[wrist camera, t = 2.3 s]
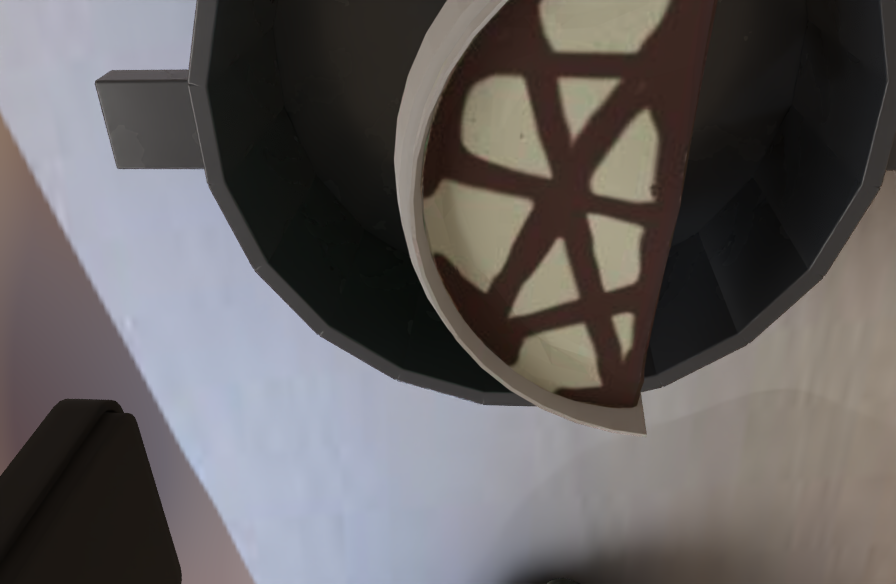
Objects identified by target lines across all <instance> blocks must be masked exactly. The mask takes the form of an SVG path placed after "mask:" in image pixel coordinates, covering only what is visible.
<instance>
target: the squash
mask: <svg viewBox="0 0 896 584" xmlns="http://www.w3.org/2000/svg"><path fill="white" fill-rule="evenodd" d="M546 584H579V583H576V582H574V581H572V580H570V579H565V578H559V579H554V580H552V581H550V582H548V583H546Z"/></svg>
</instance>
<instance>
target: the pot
mask: <svg viewBox="0 0 896 584" xmlns="http://www.w3.org/2000/svg"><path fill="white" fill-rule="evenodd" d="M446 1H447V0H197V2H196V11H195V19H194V28H193V36H192V45H191V54H190V62H189V70H112V71H110V72H108V73H107V74H105V75H104V76H102V77H101V78H99V79H97V80H96V81H95V86H96V90H97V93H98V97H99V101H100V105H101V109H102V112H103V116H104V120H105V124H106V128H107V132H108V135H109V139H110V143H111V147H112V151H113V154H114V158H115V162H116V166H117V168H118V169H205V174H206V179H207V183H208V184H209V185H208V186H209V188H210V190H211V192H212V194H213V196H214V198H215V199H216V201H217V203H218V205H219V207H220V209H221V210H222V212H223V214H224V216H225V218H226V220H227V221H228V223H229V225H230V227H231V229H232V231H233V232H234V234H235V236H236V238H237V240H238V242H239V244H240V245H241V247H242V249H243V251H244V253H245V255H246V256H247V258H248V260H249V262H250V264H251V266H252V267H253V269H254V270H255V272H256V273H257V274H258V275H259V276H260V277H261V278H262V279H263V280H264V281H265V282H266V283H267V284H268V285H269V286H270V287H271V288H272V289H273V290H274V291H275V292H276V293H277V294H278V295H279V296H280V297H281V298H282V299H283V300H284V301H285V302H286V303H287V304H288V305H289V306H290V307H291V308H292V309H293V310H294V311H295V312H296V313H297V314H298V315H299V316H300V317H301V318H302V319H303V320H304V321H305V322H306V323H307V324H308V326H309V327H310V328H311V329H312V330H313V331H314V332H315V333H316V334H317V335H319V336H320V337H322V338H324V339H326V340H327V341H329V342H331V343H332V344H334V345H336V346H338V347H339V348H341V349H343V350H344V351H346V352H348V353H350V354H351V355H353V356H355V357H356V358H358V359H360V360H362V361H363V362H365V363H367V364H368V365H370V366H372V367H374V368H375V369H377V370H379V371H381V372H382V373H384V374H386V375H387V376H389V377H391V378H393V379H394V380H397V381H399V382H403V383H406V384H410V385H414V386H417V387H421V388H424V389H428V390H431V391H435V392H439V393H442V394H446V395H449V396H453V397H456V398H460V399H464V400H467V401H471V402H474V403H478V404H483V405H504V406H536V405H534V404H533V403H531V402H529V401H527V400H526V399H524V398H522V397H521V396H519V395H517V394H515V393H514V392H512V391H510V390H509V389H508V388H506V387H505V386H504V385H503V384H501V383H500V382H499V381H498V380H496V379H495V378H494V377H493V376H491V375H490V374H489V373H488V372H486V371H485V370H484V369H483V368H481V367H480V366H479V364H478V363H477V362H476V361H475V360H474V359H473V358H472V357H471V356H470V355H469V354H468V353H467V351H466V350H465V349H464V348H463V347H462V346H461V345H460V344H459V343H458V342H457V340H456V339H455V337H454V336H453V334H452V333H451V332H450V331H449V330H448V328H447V327H446V325H445V324H444V322H443V321H442V319H441V318H440V316H439V315H438V313H437V312H436V310H435V309H434V307H433V306H432V304H431V303H430V301H429V300H428V298H427V296H426V294H425V292H424V289H423V287H422V285H421V283H420V280H419V278H418V276H417V274H416V271H415V269H414V267H413V265H412V262H411V258H410V254H409V250H408V246H407V242H406V238H405V235H404V231H403V227H402V222H401V216H400V211H399V205H398V199H397V188H396V177H395V166H394V154H395V141H396V128H397V117H398V113H399V109H400V105H401V101H402V97H403V93H404V89H405V85H406V81H407V77H408V74H409V72H410V69H411V67H412V65H413V62H414V60H415V58H416V56H417V53H418V51H419V49H420V46H421V44H422V42H423V39H424V37H425V35H426V32H427V31H428V29H429V28H430V26H431V25H432V23H433V21H434V20H435V18H436V17H437V15H438V14H439V12H440V10H441V9H442V7H443V6H444V4H445V3H446ZM886 170H896V0H718V3H717V8H716V13H715V18H714V23H713V28H712V33H711V38H710V43H709V48H708V53H707V58H706V63H705V68H704V73H703V79H702V84H701V90H700V95H699V100H698V106H697V111H696V117H695V122H694V127H693V133H692V138H691V144H690V150H689V156H688V162H687V168H686V174H685V180H684V186H683V192H682V199H681V205H680V209H679V213H678V217H677V222H676V226H675V230H674V234H673V238H672V242H671V246H670V251H669V255H668V259H667V263H666V267H665V271H664V276H663V280H662V285H661V289H660V294H659V299H658V303H657V308H656V313H655V317H654V322H653V327H652V331H651V336H650V341H649V346H648V350H647V356H646V362H645V368H644V383H643V386H642V388H641V392H644V391H648V390H653V389H657V388H661V387H662V386H663V387H664V386H666V385H668V384H670V383H672V382H674V381H676V380H678V379H680V378H682V377H684V376H686V375H688V374H690V373H692V372H694V371H696V370H698V369H700V368H702V367H704V366H706V365H708V364H710V363H712V362H714V361H716V360H718V359H720V358H722V357H724V356H726V355H728V354H730V353H732V352H734V351H736V350H738V349H740V348H742V347H744V346H746V345H747V344H748V343H751V342H752V341H753V340H754V339H755V338H756V337H757V336H759V335H760V334H761V333H762V332H763V331H764V330H765V329H766V328H768V327H769V326H770V325H771V324H772V323H773V322H774V321H775V320H777V319H778V318H779V317H780V316H781V315H782V314H783V313H784V312H786V311H787V310H788V309H789V308H790V307H791V306H792V305H793V304H795V303H796V302H797V301H798V300H799V299H800V298H801V297H802V296H804V295H805V294H806V293H807V292H808V291H809V290H810V289H811V288H813V287H814V286H815V285H816V284H817V283H818V282H819V281H820V280H822V279H823V276H825V275H826V274H827V272H828V270H829V269H830V267H831V266H832V264H833V262H834V261H835V259H836V258H837V256H838V255H839V253H840V251H841V250H842V248H843V247H844V245H845V244H846V242H847V240H848V239H849V237H850V236H851V234H852V232H853V231H854V229H855V228H856V226H857V225H858V223H859V221H860V220H861V218H862V217H863V215H864V214H865V212H866V210H867V209H868V207H869V206H870V204H871V203H872V201H873V199H874V198H875V196H876V195H877V193H878V191H879V190H880V186H882V183H883V179H884V175H885V171H886Z"/></svg>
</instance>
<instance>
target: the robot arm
mask: <svg viewBox="0 0 896 584" xmlns="http://www.w3.org/2000/svg"><path fill="white" fill-rule="evenodd" d="M181 577H182V574H181V567H180V564H179V561H178V557H177V554H176V551H175V547H174V544H173V541H172V537H171V534H170V531H169V527H168V524H167V521H166V517H165V514H164V511H163V507H162V504H161V501H160V497H159V494H158V491H157V487H156V484H155V481H154V477H153V474H152V471H151V467H150V464H149V461H148V458H147V454H146V451H145V447H144V444H143V441H142V437H141V434H140V431H139V427H138V424H137V422H136V419H135V417H134V416H133V415H132V414H129V413H124V412H123V410H122V408H121V406H120V405H119V404H118V403H117V402H116V401H113V400H92V399H89V400H88V399H64V400H62V401H60V402H59V403H58V404H57V405H55V406H54V407H53V409H52V410H51V411H50V413H49V414H48V415H47V416H46V418H45V419H44V420H43V422H42V423H41V424H40V426H39V427H38V428H37V429H36V431H35V432H34V433H33V435H32V436H31V437H30V439H29V440H28V441H27V442H26V444H25V445H24V446H23V448H22V449H21V450H20V451H19V453H18V454H17V455H16V457H15V458H14V459H13V460H12V462H11V463H10V464H9V466H8V467H7V469H6V470H5V471H4V472H3V473H2V475H1V476H0V584H181V581H182V578H181Z"/></svg>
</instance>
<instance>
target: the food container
mask: <svg viewBox="0 0 896 584" xmlns="http://www.w3.org/2000/svg"><path fill="white" fill-rule="evenodd" d="M717 3H718V0H447V1H446V3H445V4H444V6H443V7H442V9H441V10H440V12H439V14H438V15H437V17H436V18H435V20H434V21H433V23H432V25H431V26H430V28H429V29H428V31H427V32H426V35H425V37H424V39H423V42H422V44H421V46H420V49H419V51H418V53H417V56H416V58H415V60H414V62H413V65H412V67H411V69H410V72H409V74H408V77H407V81H406V85H405V89H404V93H403V97H402V101H401V105H400V109H399V113H398V117H397V128H396V141H395V154H394V166H395V177H396V188H397V199H398V205H399V211H400V216H401V222H402V227H403V231H404V235H405V238H406V242H407V246H408V250H409V254H410V258H411V262H412V265H413V267H414V269H415V271H416V274H417V276H418V278H419V280H420V283H421V285H422V287H423V289H424V292H425V294H426V296H427V298H428V300H429V301H430V303H431V304H432V306H433V307H434V309H435V310H436V312H437V313H438V315H439V316H440V318H441V319H442V321H443V322H444V324H445V325H446V327H447V328H448V330H449V331H450V332H451V333H452V334H453V336H454V337H455V339H456V340H457V342H458V343H459V344H460V345H461V346H462V347H463V348H464V349H465V350H466V351H467V353H468V354H469V355H470V356H471V357H472V358H473V359H474V360H475V361H476V362H477V363H478V364H479V366H480V367H481V368H483V369H484V370H485V371H486V372H488V373H489V374H490V375H491V376H493V377H494V378H495V379H496V380H498V381H499V382H500V383H501V384H503V385H504V386H505V387H506V388H508V389H509V390H510V391H512V392H514V393H515V394H517V395H519V396H521V397H522V398H524V399H526V400H527V401H529V402H531V403H533V404H534V405H536V406H538V407H539V408H541V409H544V410H546V411H548V412H551V413H553V414H556V415H558V416H560V417H563V418H565V419H568V420H570V421H573V422H575V423H579V424H582V425H586V426H590V427H593V428H597V429H601V430H605V431H608V432H613V433H620V434H626V435H633V436H640V437H646V435H647V433H646V426H645V419H644V412H643V405H642V398H641V388H642V386H643V383H644V368H645V362H646V356H647V350H648V346H649V341H650V336H651V331H652V327H653V322H654V317H655V313H656V308H657V303H658V299H659V294H660V289H661V285H662V280H663V276H664V271H665V267H666V263H667V259H668V255H669V251H670V246H671V242H672V238H673V234H674V230H675V226H676V222H677V217H678V213H679V209H680V205H681V199H682V192H683V186H684V180H685V174H686V168H687V162H688V156H689V150H690V144H691V138H692V133H693V127H694V122H695V117H696V111H697V106H698V100H699V95H700V90H701V84H702V79H703V73H704V68H705V63H706V58H707V53H708V48H709V43H710V38H711V33H712V28H713V23H714V18H715V13H716V8H717Z"/></svg>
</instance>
